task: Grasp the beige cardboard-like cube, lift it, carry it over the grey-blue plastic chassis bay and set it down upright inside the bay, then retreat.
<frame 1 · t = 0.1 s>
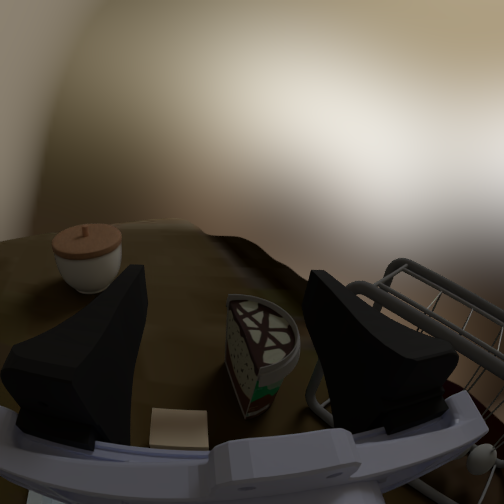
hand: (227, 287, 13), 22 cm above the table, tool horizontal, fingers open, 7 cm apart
beige cardboard-like cube: (182, 450, 24), on the table
food container: (258, 386, 33), on the table
lidded bowl: (92, 284, 47), on the table
newton's cradle: (414, 448, 25), on the table
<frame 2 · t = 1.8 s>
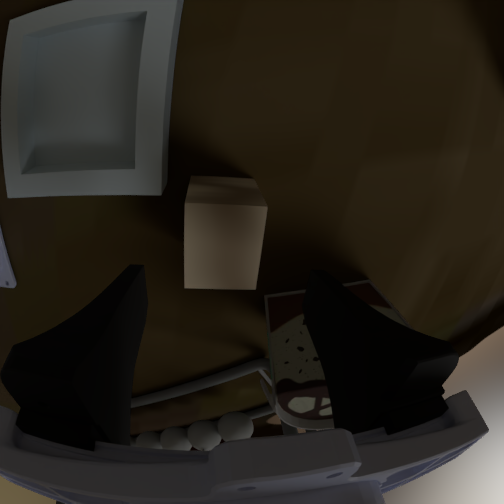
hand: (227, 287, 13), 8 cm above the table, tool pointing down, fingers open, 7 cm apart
beige cardboard-like cube: (219, 212, 20), on the table
food container: (316, 313, 26), on the table
chassis bay: (87, 92, 14), on the table
newton's cradle: (176, 410, 32), on the table
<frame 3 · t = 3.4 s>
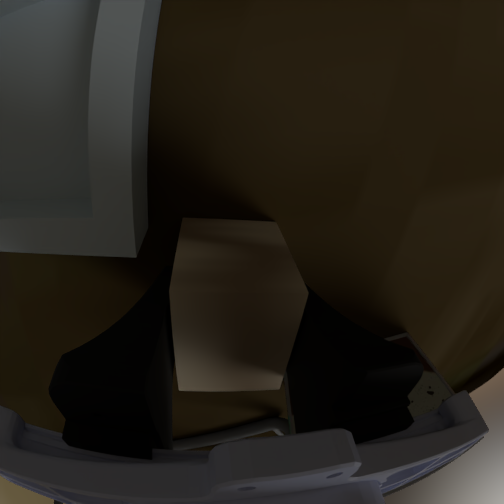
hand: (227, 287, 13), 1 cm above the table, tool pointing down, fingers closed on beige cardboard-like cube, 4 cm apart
beige cardboard-like cube: (225, 269, 14), on the table, touching gripper
food container: (342, 371, 20), on the table
chassis bay: (32, 98, 8), on the table
newton's cradle: (176, 457, 26), on the table
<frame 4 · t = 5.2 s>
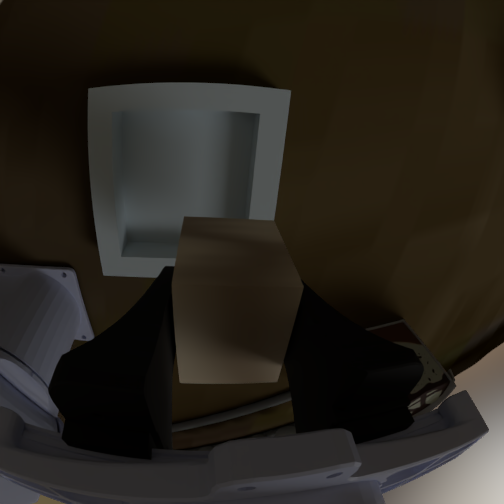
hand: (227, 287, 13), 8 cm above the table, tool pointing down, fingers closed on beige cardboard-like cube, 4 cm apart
beige cardboard-like cube: (225, 266, 14), point 6 cm above the table, touching gripper
food container: (360, 346, 30), on the table
chassis bay: (184, 177, 18), on the table
newton's cradle: (230, 426, 36), on the table
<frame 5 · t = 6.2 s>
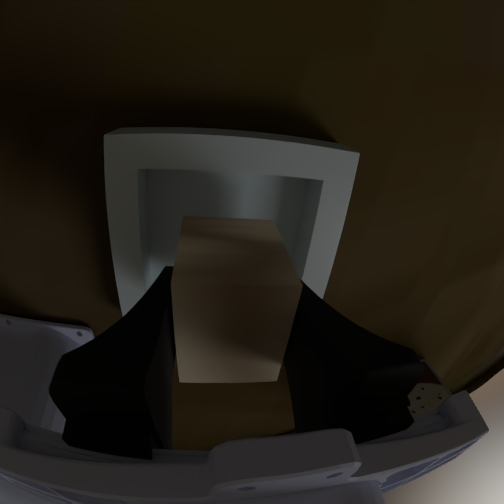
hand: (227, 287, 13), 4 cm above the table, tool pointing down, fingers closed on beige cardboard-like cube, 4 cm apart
beige cardboard-like cube: (225, 265, 14), point 2 cm above the table, touching gripper
food container: (381, 385, 28), on the table
chassis bay: (222, 240, 16), on the table
when the fingers open (3 cm above the table, at t = 7.2 s): beige cardboard-like cube stays where it is, resting on chassis bay.
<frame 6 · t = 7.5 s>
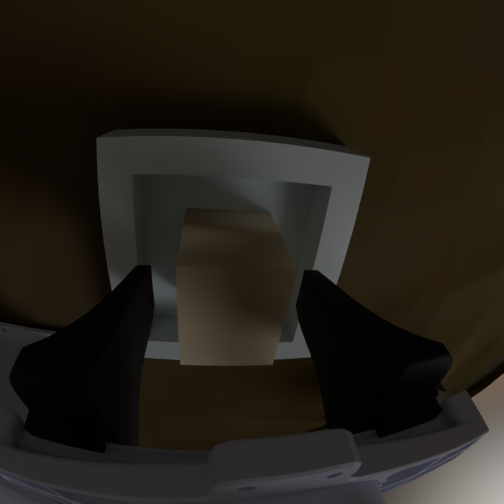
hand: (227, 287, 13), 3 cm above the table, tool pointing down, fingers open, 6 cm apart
beige cardboard-like cube: (224, 255, 15), resting on chassis bay
chassis bay: (223, 248, 15), on the table
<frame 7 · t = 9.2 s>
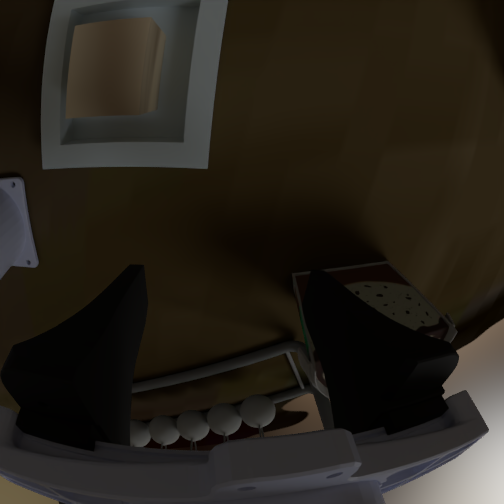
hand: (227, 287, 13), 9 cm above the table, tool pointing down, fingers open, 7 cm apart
beige cardboard-like cube: (130, 72, 15), resting on chassis bay
food container: (338, 293, 27), on the table
chassis bay: (132, 70, 15), on the table
newton's cradle: (192, 394, 32), on the table
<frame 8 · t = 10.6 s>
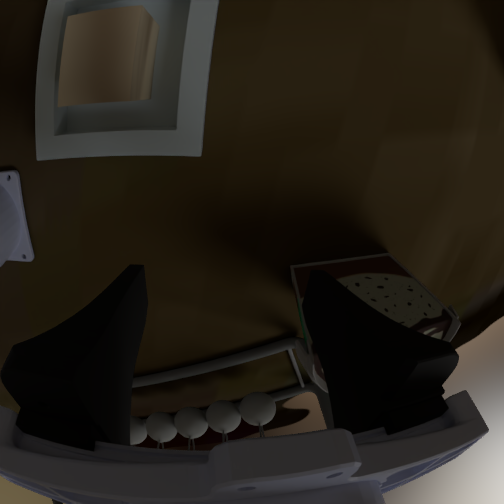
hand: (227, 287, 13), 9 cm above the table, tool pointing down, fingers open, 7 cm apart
beige cardboard-like cube: (124, 63, 14), resting on chassis bay
food container: (338, 286, 26), on the table
chassis bay: (126, 61, 15), on the table
newton's cradle: (190, 391, 32), on the table
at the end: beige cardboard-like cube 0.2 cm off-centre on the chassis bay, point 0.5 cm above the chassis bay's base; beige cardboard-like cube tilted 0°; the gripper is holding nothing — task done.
